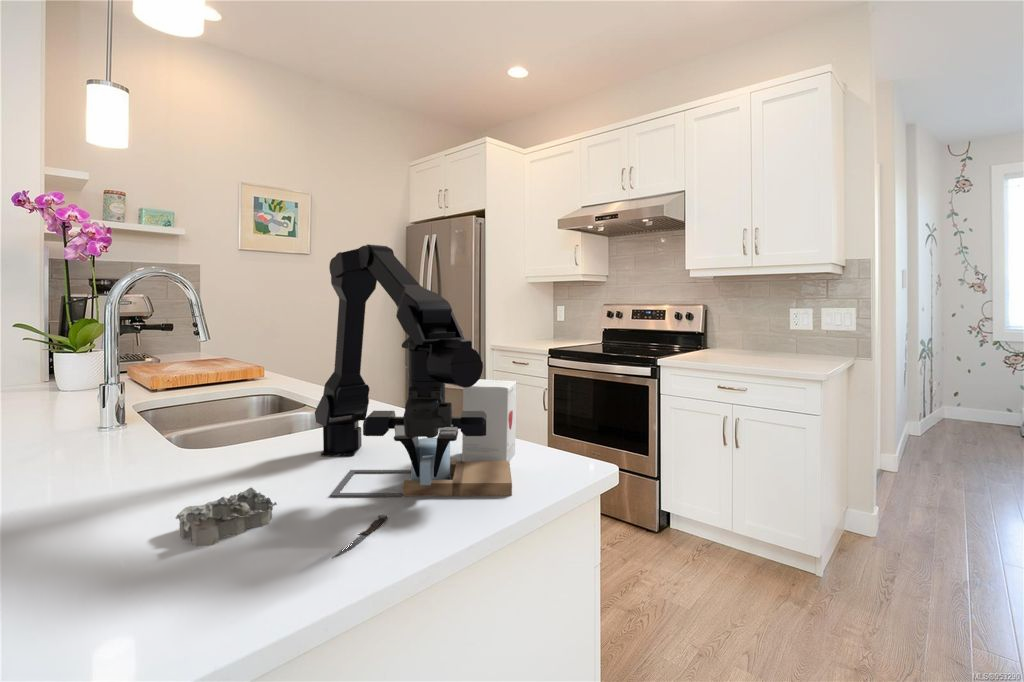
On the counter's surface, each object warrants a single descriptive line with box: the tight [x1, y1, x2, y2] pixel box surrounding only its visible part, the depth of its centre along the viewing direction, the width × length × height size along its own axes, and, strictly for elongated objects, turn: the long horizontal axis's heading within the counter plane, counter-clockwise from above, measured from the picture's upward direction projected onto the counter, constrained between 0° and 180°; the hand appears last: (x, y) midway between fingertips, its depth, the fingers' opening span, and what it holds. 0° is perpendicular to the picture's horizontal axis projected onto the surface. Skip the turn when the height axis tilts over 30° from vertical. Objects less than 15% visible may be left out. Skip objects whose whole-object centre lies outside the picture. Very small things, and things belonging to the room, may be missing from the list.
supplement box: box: [461, 378, 517, 462], centre depth 101 cm, size 9×9×15 cm
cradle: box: [402, 460, 513, 497], centre depth 87 cm, size 17×11×2 cm, turn 93°
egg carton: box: [175, 487, 278, 548], centre depth 70 cm, size 11×8×4 cm
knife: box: [331, 514, 388, 559], centre depth 66 cm, size 17×1×3 cm
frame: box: [329, 469, 411, 498], centre depth 87 cm, size 11×12×1 cm
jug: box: [410, 437, 451, 485], centre depth 85 cm, size 11×6×7 cm, turn 2°
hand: (426, 476), depth 82 cm, fingers open, 2 cm apart
